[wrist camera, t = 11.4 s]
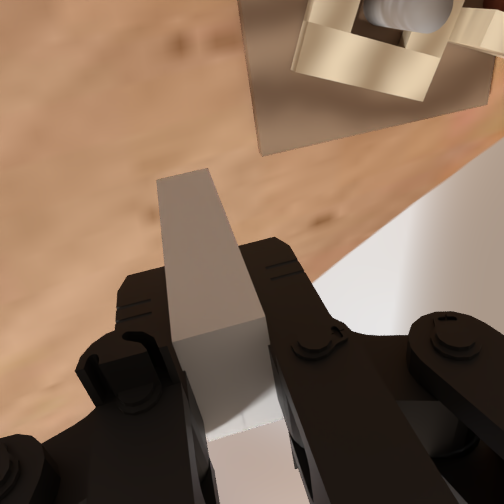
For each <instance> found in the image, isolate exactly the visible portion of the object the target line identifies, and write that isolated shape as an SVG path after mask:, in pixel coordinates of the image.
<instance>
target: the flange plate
mask: <svg viewBox="0 0 504 504" xmlns="http://www.w3.org/2000/svg"><path fill="white" fill-rule="evenodd" d="M464 1H465V0H454V1H453V8H452V11H451V14H450V16H449V18H448V20H447V21H446V23H445V24H444V25H443V26H442V27H441V28H440V29H438V30H437V31H435V32H433V33H428V34H425V33H419V32H412V31H406V30H403V33H402V36H401V39H400V41H399V44H398V46H395V45H391V44H388V43H384V42H380V41H377V40H373V39H370V38H366V37H362V36H359V35H355V34H352V33H351V29H352V26H353V23H354V20H355V17H356V13H357V10H358V7H359V4H360V0H308V4H307V8H306V12H305V15H304V19H303V23H302V27H301V31H300V35H299V39H298V43H297V47H296V50H295V54H294V58H293V62H292V66H291V70H292V71H294V72H297V73H301V74H306V75H310V76H314V77H319V78H323V79H327V80H332V81H336V82H340V83H344V84H349V85H353V86H357V87H362V88H366V89H370V90H374V91H379V92H383V93H387V94H392V95H396V96H400V97H405V98H409V99H413V100H417V101H422V102H423V100H424V98H425V95H426V93H427V91H428V88H429V86H430V83H431V81H432V78H433V76H434V74H435V71H436V69H437V66H438V64H439V62H440V59H441V57H442V54H443V52H444V50H445V47H446V45H447V42H450V43H453V44H456V45H460V46H463V47H467V48H470V49H473V50H477V51H480V52H484V53H487V54H491V55H494V56H497V57H501V58H504V12H502V11H499V10H496V9H480V8H464V7H462V6H463V4H464Z"/></svg>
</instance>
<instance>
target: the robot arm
mask: <svg viewBox="0 0 504 504" xmlns="http://www.w3.org/2000/svg"><path fill="white" fill-rule="evenodd" d="M156 181H157V192H158V202H159V212H160V223H161V233H162V243H163V254H164V264H165V266H163V267H160V268H156V269H152V270H148V271H144V272H140V273H136V274H132V275H128V276H127V277H126V279H125V280H124V282H123V284H122V285H121V287H120V288H119V290H118V292H117V306H116V308H117V311H116V324H115V331H112V332H110V333H107V334H105V335H104V336H102V337H101V338H100V339H98V340H97V341H95V342H94V343H92V344H91V345H90V347H89V348H88V349H87V350H86V351H85V352H84V354H83V355H82V356H81V357H80V359H79V362H78V364H77V367H76V369H75V372H76V374H77V376H78V377H79V379H80V381H81V383H82V384H83V386H84V388H85V389H86V391H87V393H88V395H89V396H90V398H91V400H92V401H93V403H94V405H95V406H96V408H95V409H94V410H93V411H92V412H91V413H90V414H89V415H88V416H86V417H85V418H84V419H82V420H81V421H79V422H78V423H76V424H75V425H73V426H72V427H70V428H68V429H66V430H65V431H63V432H61V433H59V434H58V435H56V436H54V437H52V438H51V439H49V440H47V441H45V442H44V443H42V444H41V443H40V442H39V441H37V440H36V439H35V438H34V437H33V436H29V435H21V434H15V435H11V436H7V437H3V438H0V504H220V502H219V496H218V490H217V484H216V478H215V471H214V469H213V466H212V463H211V461H210V458H209V454H208V448H207V442H206V437H207V439H208V441H212V440H216V439H219V438H222V437H225V436H229V435H232V434H235V433H238V432H242V431H245V430H249V429H252V428H255V427H259V426H262V425H265V424H268V423H272V422H275V421H278V420H282V419H283V416H284V419H285V422H286V425H287V428H288V431H289V437H290V443H291V448H292V455H293V460H294V466H295V469H297V468H298V469H299V472H300V475H301V478H302V481H303V484H304V487H305V490H306V493H307V496H308V499H309V502H310V504H504V335H503V334H501V333H500V332H498V331H497V330H495V329H494V328H492V327H491V326H489V325H487V324H486V323H484V322H482V321H480V320H478V319H476V318H474V317H472V316H469V315H466V314H461V313H457V312H451V311H449V312H434V313H430V314H427V315H424V316H421V317H420V318H419V319H418V320H417V321H415V322H414V323H413V324H412V325H411V328H410V331H409V334H408V335H394V336H391V335H390V336H375V335H365V334H360V333H356V332H353V331H351V330H350V329H349V328H348V327H347V326H346V325H345V324H344V323H342V322H340V321H338V320H336V319H334V318H332V316H331V315H330V314H329V312H328V310H327V309H326V307H325V305H324V304H323V302H322V300H321V298H320V297H319V295H318V293H317V292H316V290H315V288H314V287H313V285H312V283H311V281H310V280H309V278H308V276H307V275H306V273H304V269H303V268H302V266H301V264H300V263H299V261H298V260H297V258H296V256H295V254H294V252H293V251H292V249H291V247H290V246H289V245H287V244H286V243H284V242H283V241H281V240H279V239H278V238H276V237H272V238H268V239H264V240H260V241H256V242H252V243H248V244H244V245H240V246H238V244H237V242H236V239H235V237H234V234H233V232H232V229H231V226H230V224H229V221H228V219H227V216H226V213H225V211H224V208H223V206H222V203H221V201H220V198H219V195H218V193H217V190H216V188H215V185H214V182H213V180H212V177H211V175H210V172H209V170H208V168H205V169H201V170H197V171H192V172H188V173H184V174H179V175H175V176H171V177H166V178H162V179H158V180H156Z"/></svg>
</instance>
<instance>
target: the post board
mask: <svg viewBox="0 0 504 504" xmlns="http://www.w3.org/2000/svg"><path fill="white" fill-rule="evenodd" d="M453 1H454V0H360V4H359V7H358V10H357V13H356V17H355V20H354V23H353V26H352V29H351V33H352V34H355V35H359V36H362V37H366V38H370V39H373V40H377V41H380V42H384V43H388V44H391V45H395V46H398V44H399V41H400V39H401V36H402V33H403V30H406V31H412V32H419V33H425V34H428V33H433V32H435V31H437V30H438V29H440V28H441V27H442V26H443V25H444V24H445V23H446V21H447V20H448V18H449V16H450V14H451V11H452V8H453ZM237 2H238V9H239V16H240V23H241V30H242V36H243V43H244V50H245V57H246V64H247V71H248V78H249V85H250V92H251V99H252V106H253V113H254V120H255V127H256V134H257V141H258V148H259V153H260V154H261V155H262V157H263V156H268V155H272V154H276V153H281V152H285V151H289V150H294V149H298V148H302V147H307V146H311V145H315V144H320V143H324V142H328V141H332V140H337V139H341V138H345V137H350V136H354V135H358V134H363V133H367V132H371V131H376V130H380V129H384V128H389V127H393V126H397V125H402V124H406V123H410V122H415V121H419V120H423V119H428V118H432V117H436V116H441V115H445V114H449V113H454V112H458V111H462V110H467V109H471V108H475V107H480V106H484V105H487V104H488V98H489V92H490V86H491V80H492V74H493V68H494V62H495V56H494V55H491V54H487V53H484V52H480V51H477V50H473V49H470V48H467V47H463V46H460V45H456V44H453V43H450V42H447V45H446V47H445V50H444V52H443V54H442V57H441V59H440V62H439V64H438V66H437V69H436V71H435V74H434V76H433V78H432V81H431V83H430V86H429V88H428V91H427V93H426V95H425V98H424V100H423V102H422V101H417V100H413V99H409V98H405V97H400V96H396V95H392V94H387V93H383V92H379V91H374V90H370V89H366V88H362V87H357V86H353V85H349V84H344V83H340V82H336V81H332V80H327V79H323V78H319V77H314V76H310V75H306V74H301V73H297V72H294V71H292V70H291V66H292V62H293V58H294V54H295V50H296V47H297V43H298V39H299V35H300V31H301V27H302V23H303V19H304V15H305V12H306V8H307V4H308V0H237ZM462 7H464V8H480V9H496V10H499V11H502V12H504V0H465V1H464V4H463V6H462Z"/></svg>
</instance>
